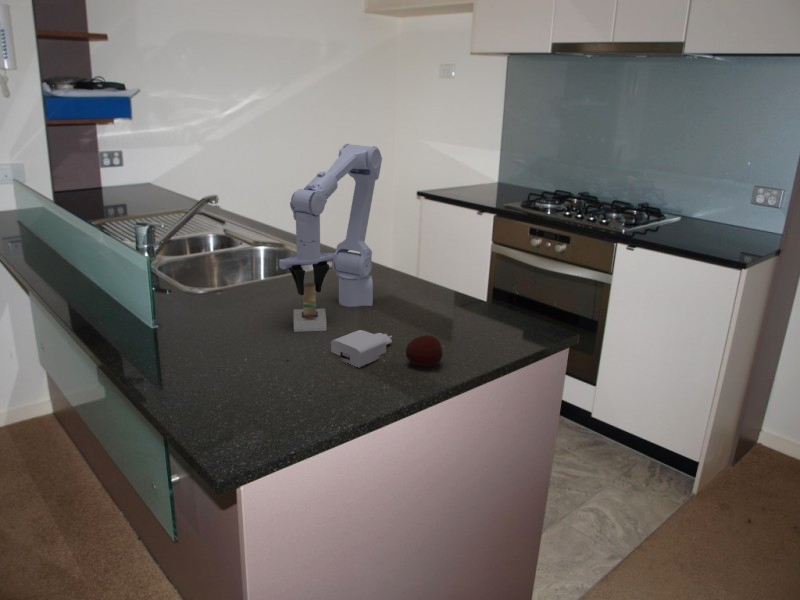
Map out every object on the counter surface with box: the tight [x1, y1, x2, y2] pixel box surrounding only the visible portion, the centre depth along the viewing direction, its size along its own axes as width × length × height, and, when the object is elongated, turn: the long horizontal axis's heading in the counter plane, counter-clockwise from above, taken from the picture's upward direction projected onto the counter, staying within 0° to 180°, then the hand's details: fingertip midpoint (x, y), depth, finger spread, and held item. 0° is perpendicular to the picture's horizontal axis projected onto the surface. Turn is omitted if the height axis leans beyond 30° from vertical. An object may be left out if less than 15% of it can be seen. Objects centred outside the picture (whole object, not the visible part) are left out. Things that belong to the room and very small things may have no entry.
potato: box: [405, 334, 443, 368], centre depth 144 cm, size 7×8×7 cm
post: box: [302, 282, 317, 315], centre depth 159 cm, size 3×3×7 cm
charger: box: [330, 329, 393, 369], centre depth 149 cm, size 5×9×15 cm
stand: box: [293, 308, 327, 333], centre depth 162 cm, size 12×12×4 cm
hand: (309, 292), depth 159 cm, fingers closed on post, 4 cm apart
